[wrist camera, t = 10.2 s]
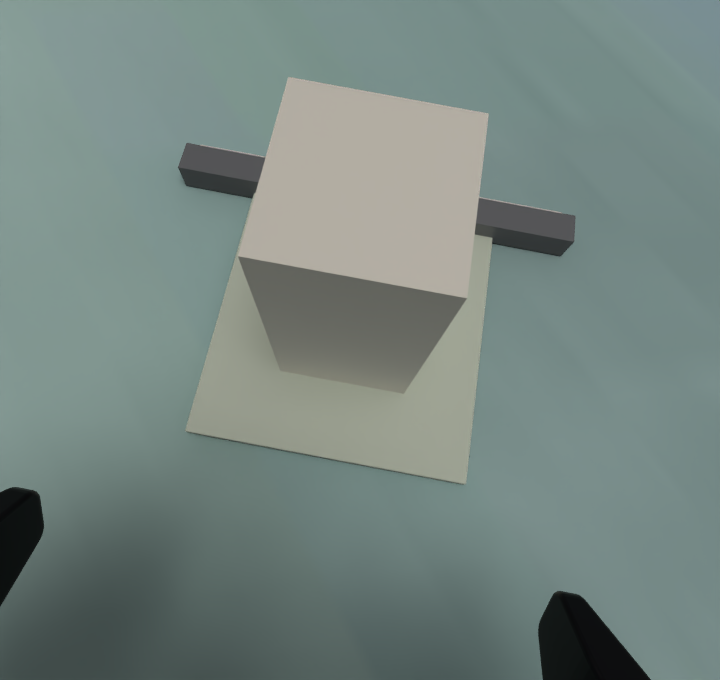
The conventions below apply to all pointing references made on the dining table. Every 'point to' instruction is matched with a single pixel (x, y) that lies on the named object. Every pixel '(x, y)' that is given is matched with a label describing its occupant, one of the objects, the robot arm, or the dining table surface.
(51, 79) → the dining table surface
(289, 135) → the carton
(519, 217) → the rail
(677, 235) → the dining table surface
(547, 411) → the dining table surface
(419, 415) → the pad
